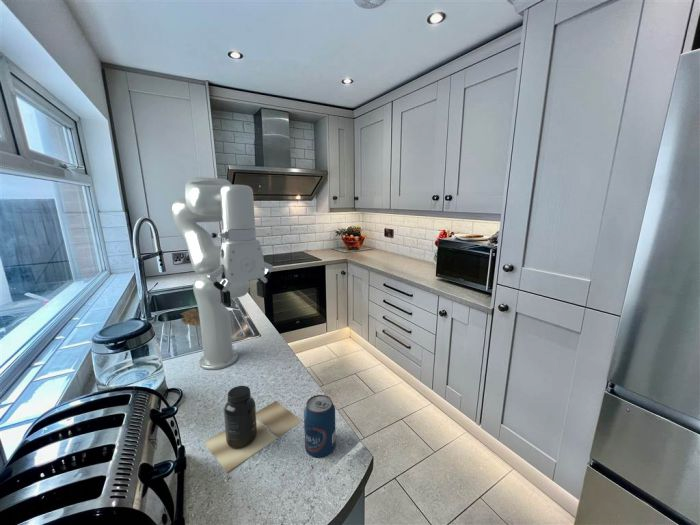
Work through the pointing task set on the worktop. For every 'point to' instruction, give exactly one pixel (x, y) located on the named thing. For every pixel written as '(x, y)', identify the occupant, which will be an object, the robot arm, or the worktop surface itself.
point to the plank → (236, 456)
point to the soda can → (319, 426)
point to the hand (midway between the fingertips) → (245, 300)
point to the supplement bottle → (240, 417)
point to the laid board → (277, 418)
